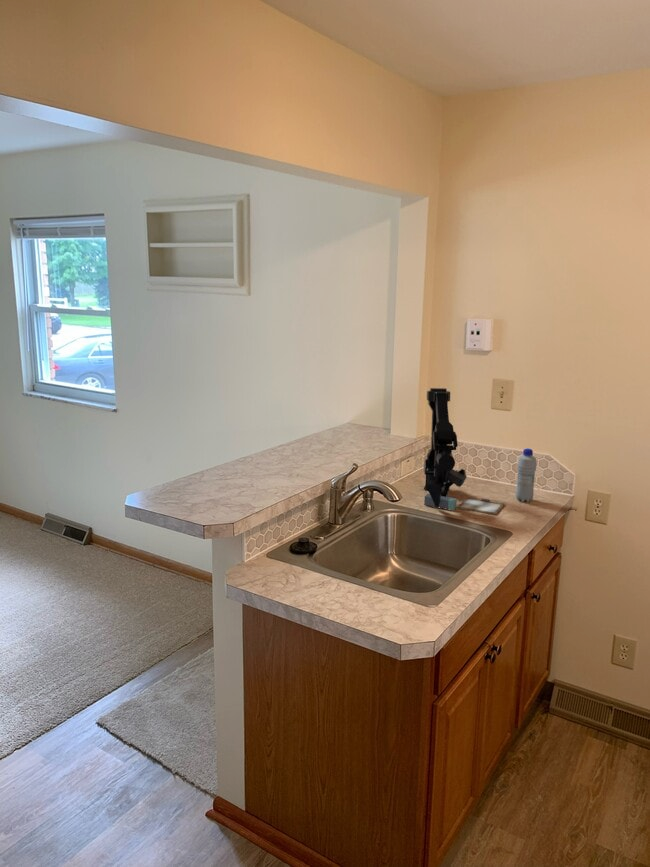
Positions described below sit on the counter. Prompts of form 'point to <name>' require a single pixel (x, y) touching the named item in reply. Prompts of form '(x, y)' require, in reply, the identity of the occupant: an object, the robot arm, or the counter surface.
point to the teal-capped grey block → (441, 502)
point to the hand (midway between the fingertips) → (440, 503)
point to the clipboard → (481, 505)
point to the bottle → (526, 476)
